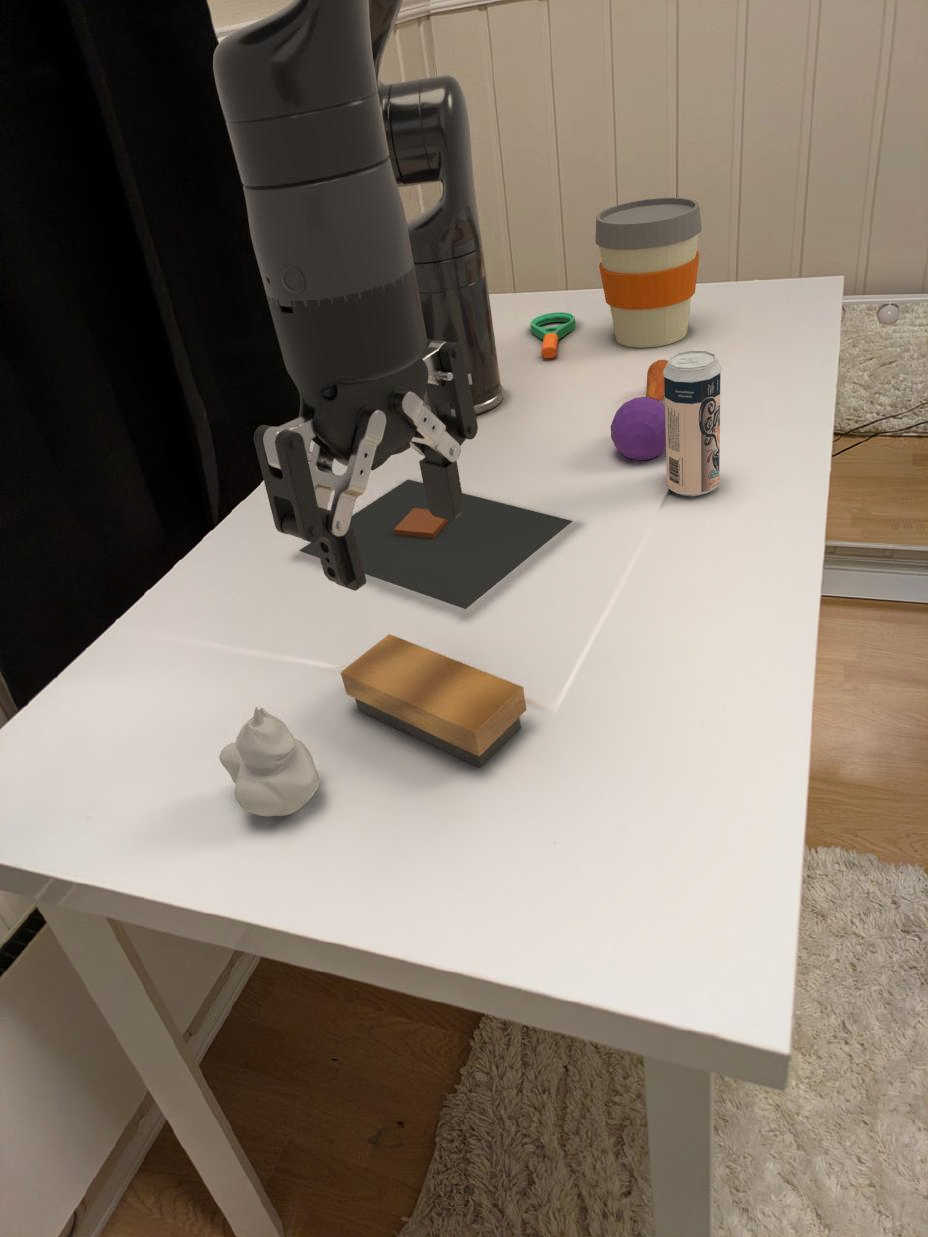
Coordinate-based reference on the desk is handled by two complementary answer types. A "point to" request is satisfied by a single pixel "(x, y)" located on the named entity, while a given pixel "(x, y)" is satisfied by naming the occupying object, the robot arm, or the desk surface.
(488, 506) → the mat
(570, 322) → the toy tennis racket
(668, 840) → the desk surface
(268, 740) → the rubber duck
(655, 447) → the maraca
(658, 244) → the reusable coffee cup
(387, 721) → the brush
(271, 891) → the desk surface
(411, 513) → the brown square tile
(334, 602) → the desk surface
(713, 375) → the beer can
